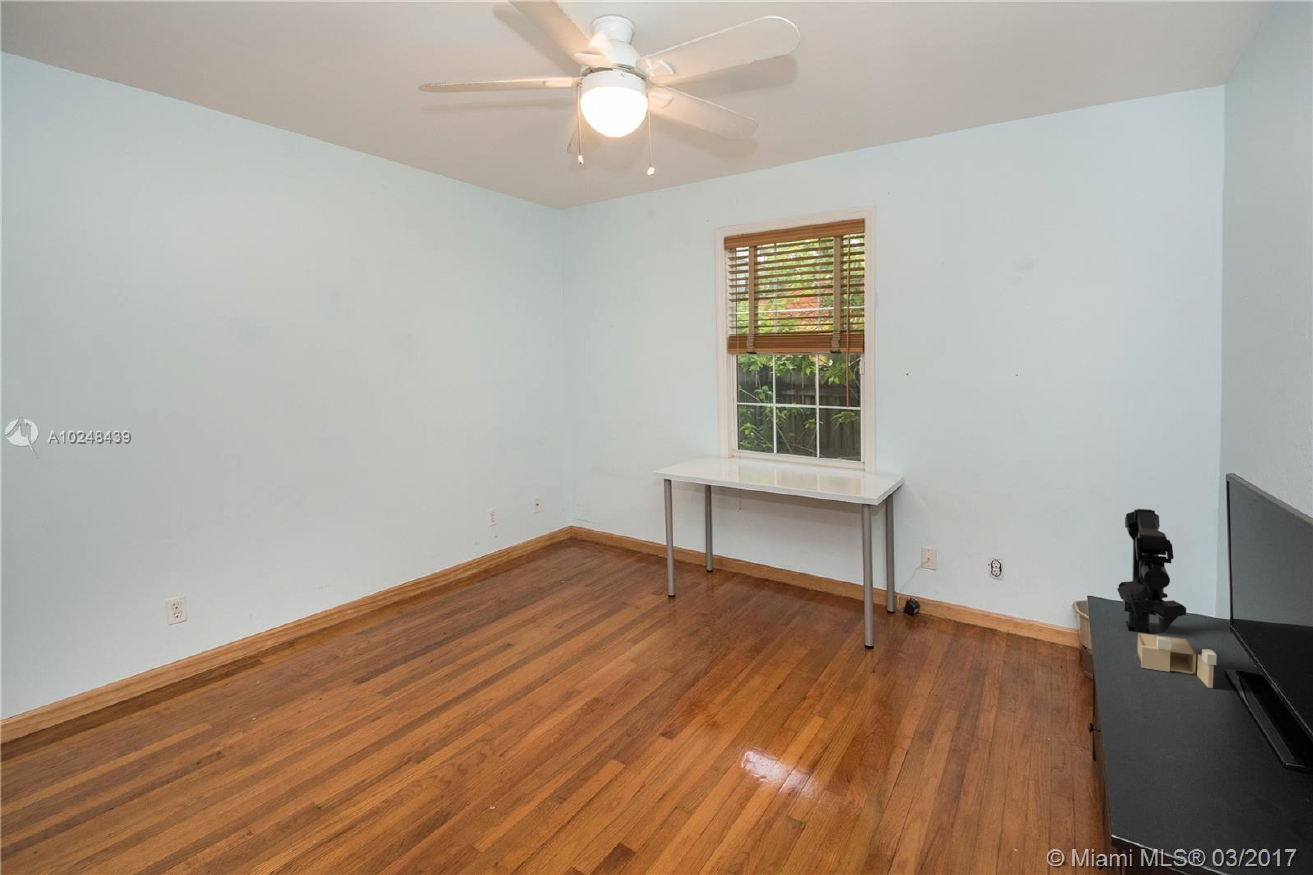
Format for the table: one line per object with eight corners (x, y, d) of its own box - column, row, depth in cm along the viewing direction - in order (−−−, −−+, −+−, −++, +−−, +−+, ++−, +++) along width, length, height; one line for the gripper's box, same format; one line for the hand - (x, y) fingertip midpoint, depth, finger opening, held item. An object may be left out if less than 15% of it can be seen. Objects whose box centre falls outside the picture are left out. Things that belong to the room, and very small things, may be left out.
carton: (1137, 652, 187) (1137, 632, 187) (1187, 659, 181) (1188, 639, 180) (1142, 666, 180) (1143, 645, 179) (1195, 674, 174) (1196, 653, 173)
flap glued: (1140, 665, 180) (1141, 634, 179) (1168, 669, 177) (1169, 637, 175) (1142, 668, 178) (1142, 637, 177) (1170, 672, 175) (1171, 640, 174)
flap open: (1206, 687, 167) (1207, 654, 165) (1194, 675, 173) (1196, 643, 171) (1215, 688, 166) (1216, 654, 165) (1203, 676, 172) (1204, 643, 171)
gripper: (1101, 566, 186) (1100, 613, 189) (1147, 590, 168) (1146, 642, 170) (1138, 563, 186) (1136, 610, 188) (1188, 587, 168) (1186, 639, 170)
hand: (1150, 624), depth 179 cm, fingers open, 9 cm apart
